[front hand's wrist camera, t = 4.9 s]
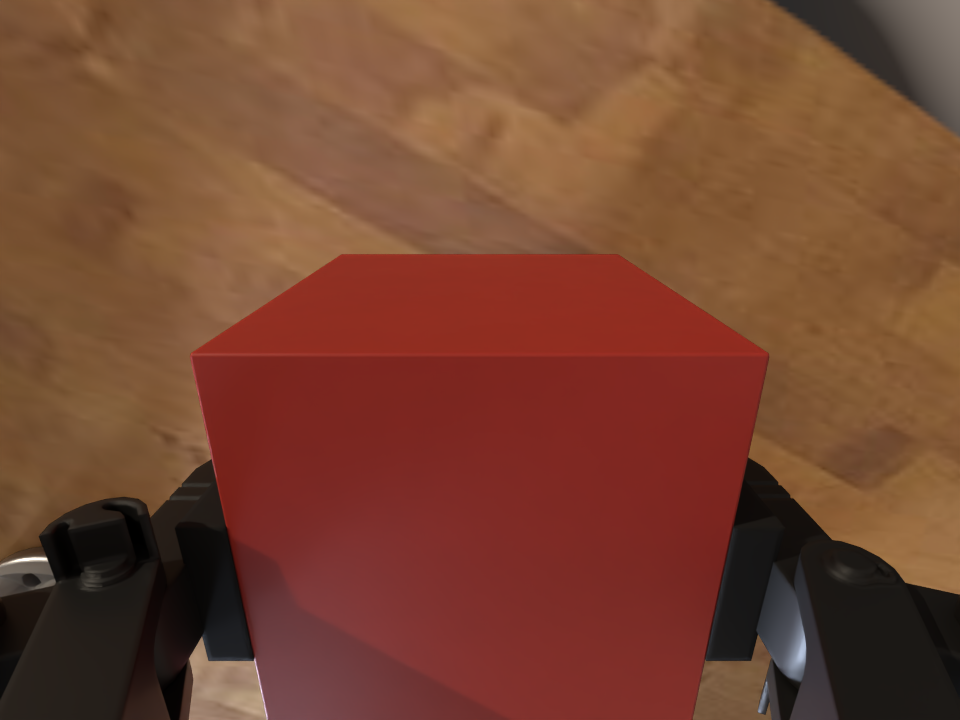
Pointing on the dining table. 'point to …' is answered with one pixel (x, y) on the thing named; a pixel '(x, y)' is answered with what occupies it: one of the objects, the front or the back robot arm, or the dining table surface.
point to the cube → (479, 486)
